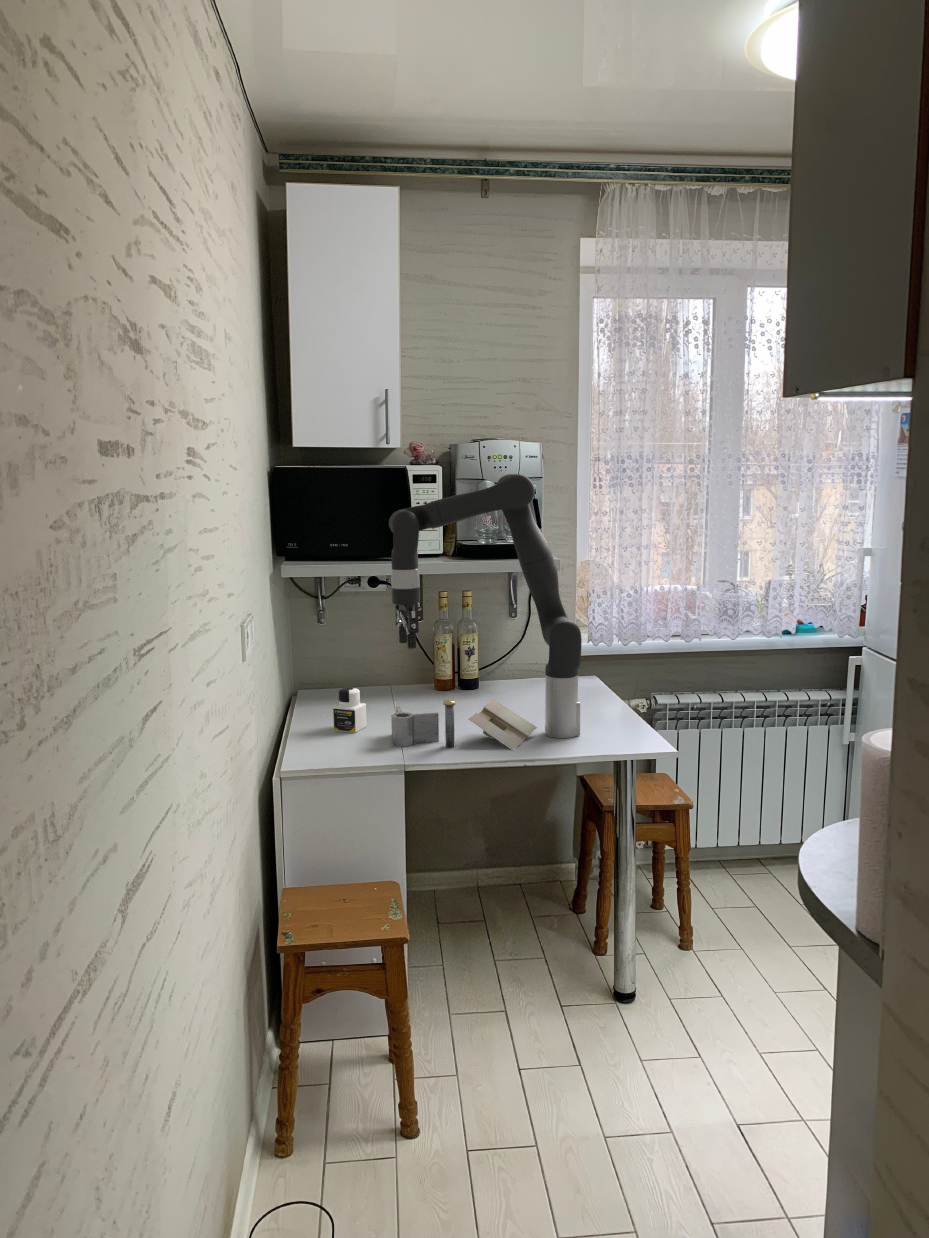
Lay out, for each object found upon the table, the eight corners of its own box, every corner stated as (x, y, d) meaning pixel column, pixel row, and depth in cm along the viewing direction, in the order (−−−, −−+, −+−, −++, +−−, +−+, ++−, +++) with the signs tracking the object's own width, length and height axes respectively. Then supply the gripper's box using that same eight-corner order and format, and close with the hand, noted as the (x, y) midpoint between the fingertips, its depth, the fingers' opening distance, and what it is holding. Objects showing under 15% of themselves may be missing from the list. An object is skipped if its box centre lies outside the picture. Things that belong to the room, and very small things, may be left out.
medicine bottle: (333, 730, 265) (332, 690, 263) (345, 724, 272) (344, 685, 270) (355, 733, 263) (354, 692, 261) (366, 726, 269) (365, 687, 267)
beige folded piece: (522, 744, 264) (485, 708, 266) (539, 726, 259) (501, 689, 262) (496, 769, 250) (457, 730, 253) (513, 750, 246) (473, 711, 248)
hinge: (432, 731, 264) (431, 704, 263) (440, 743, 252) (440, 715, 250) (387, 734, 261) (387, 706, 260) (393, 747, 249) (393, 718, 248)
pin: (454, 744, 251) (454, 699, 249) (457, 747, 248) (456, 702, 246) (442, 745, 250) (442, 699, 248) (445, 748, 247) (444, 702, 245)
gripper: (426, 588, 237) (428, 649, 240) (411, 581, 251) (413, 639, 253) (398, 589, 235) (400, 651, 238) (385, 583, 248) (387, 642, 251)
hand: (407, 645), depth 246 cm, fingers open, 8 cm apart
